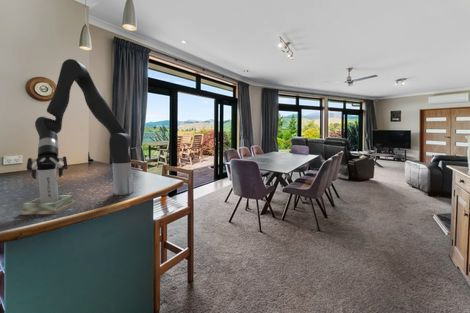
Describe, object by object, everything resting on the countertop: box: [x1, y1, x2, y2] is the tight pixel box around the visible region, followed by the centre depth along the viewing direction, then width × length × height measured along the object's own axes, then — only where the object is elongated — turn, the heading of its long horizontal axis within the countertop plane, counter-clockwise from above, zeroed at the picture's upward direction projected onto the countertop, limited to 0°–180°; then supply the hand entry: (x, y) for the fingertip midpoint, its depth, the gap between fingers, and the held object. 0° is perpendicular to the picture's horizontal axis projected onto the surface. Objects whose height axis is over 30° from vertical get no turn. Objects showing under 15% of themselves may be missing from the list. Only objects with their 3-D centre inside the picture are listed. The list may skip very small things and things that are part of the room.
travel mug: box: [36, 161, 59, 203], centre depth 101 cm, size 6×7×20 cm
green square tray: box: [19, 194, 77, 216], centre depth 102 cm, size 14×14×4 cm
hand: (47, 177), depth 101 cm, fingers open, 8 cm apart
